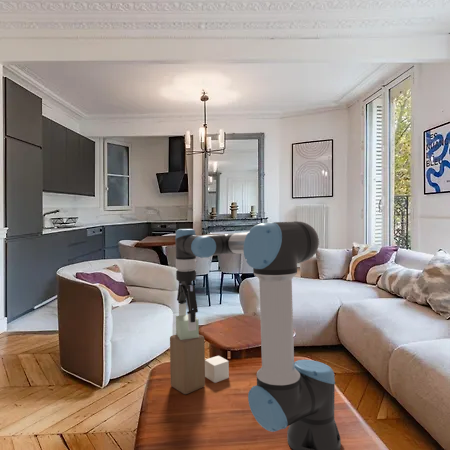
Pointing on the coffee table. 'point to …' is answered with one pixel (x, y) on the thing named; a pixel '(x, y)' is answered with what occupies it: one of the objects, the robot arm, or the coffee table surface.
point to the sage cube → (185, 328)
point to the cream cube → (216, 369)
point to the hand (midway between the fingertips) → (187, 325)
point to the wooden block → (187, 363)
